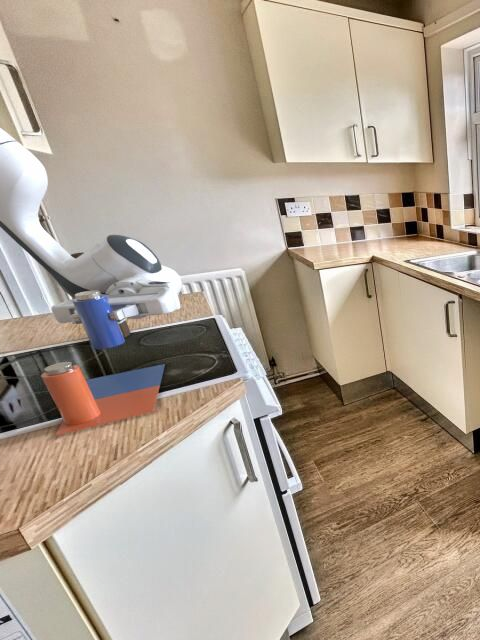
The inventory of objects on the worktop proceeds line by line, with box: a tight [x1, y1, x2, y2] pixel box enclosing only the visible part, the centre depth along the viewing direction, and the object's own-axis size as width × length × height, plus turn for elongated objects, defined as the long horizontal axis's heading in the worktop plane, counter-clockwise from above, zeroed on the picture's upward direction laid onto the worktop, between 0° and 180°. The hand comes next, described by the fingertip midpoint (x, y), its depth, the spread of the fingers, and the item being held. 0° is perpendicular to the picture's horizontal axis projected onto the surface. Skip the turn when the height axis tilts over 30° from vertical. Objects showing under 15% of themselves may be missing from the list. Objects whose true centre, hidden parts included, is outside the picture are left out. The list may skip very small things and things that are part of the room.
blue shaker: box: [72, 290, 126, 350], centre depth 84 cm, size 5×5×11 cm
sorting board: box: [54, 363, 166, 437], centre depth 88 cm, size 14×26×1 cm, turn 33°
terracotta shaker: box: [40, 361, 101, 425], centre depth 78 cm, size 5×5×11 cm
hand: (95, 318), depth 83 cm, fingers closed on blue shaker, 5 cm apart
